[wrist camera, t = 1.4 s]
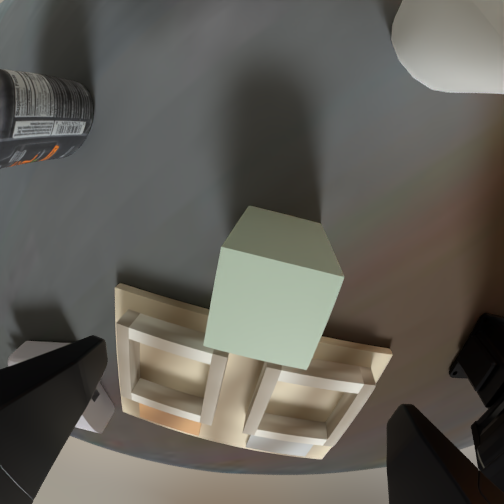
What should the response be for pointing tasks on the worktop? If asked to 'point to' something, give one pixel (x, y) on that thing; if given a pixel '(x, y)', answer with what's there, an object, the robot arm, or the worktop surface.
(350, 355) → the socket board
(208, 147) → the worktop surface
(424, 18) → the foam cup
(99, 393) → the charger
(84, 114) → the pill bottle
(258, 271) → the plug
